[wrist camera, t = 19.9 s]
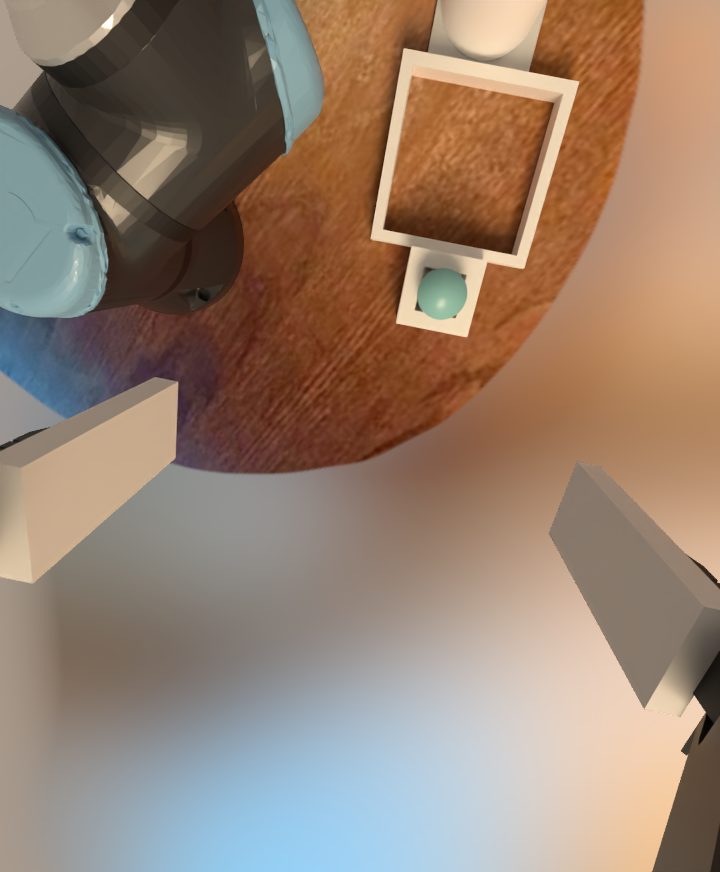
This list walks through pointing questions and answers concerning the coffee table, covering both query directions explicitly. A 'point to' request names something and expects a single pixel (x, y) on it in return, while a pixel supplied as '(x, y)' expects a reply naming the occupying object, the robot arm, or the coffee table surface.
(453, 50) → the pad
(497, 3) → the cup
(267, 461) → the coffee table surface
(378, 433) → the coffee table surface
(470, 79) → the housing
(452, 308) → the mint mushroom button
